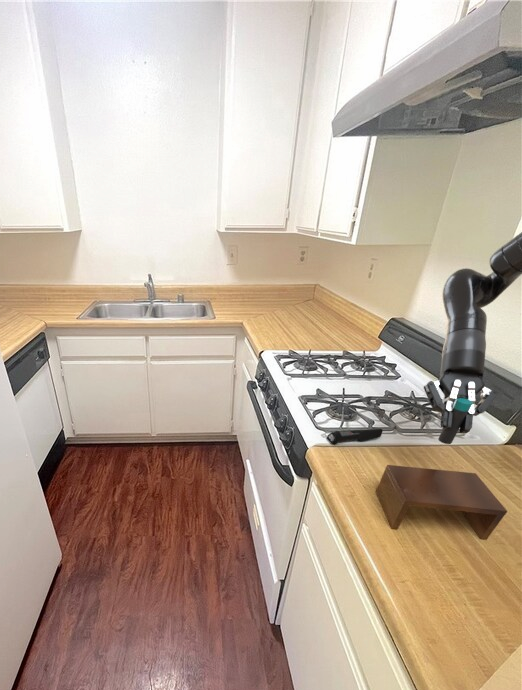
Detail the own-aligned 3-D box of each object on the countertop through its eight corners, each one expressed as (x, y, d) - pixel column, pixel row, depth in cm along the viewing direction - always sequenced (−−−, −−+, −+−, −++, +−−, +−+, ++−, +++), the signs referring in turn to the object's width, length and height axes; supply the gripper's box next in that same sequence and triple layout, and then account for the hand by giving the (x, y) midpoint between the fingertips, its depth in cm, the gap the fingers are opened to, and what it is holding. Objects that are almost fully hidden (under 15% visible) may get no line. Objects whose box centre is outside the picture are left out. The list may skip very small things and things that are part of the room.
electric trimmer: (383, 441, 96) (386, 432, 95) (332, 445, 94) (335, 436, 92) (374, 434, 100) (378, 425, 98) (325, 438, 97) (328, 428, 95)
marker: (448, 438, 77) (468, 398, 72) (454, 444, 75) (475, 404, 70) (435, 437, 78) (454, 397, 72) (441, 443, 75) (461, 403, 70)
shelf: (459, 500, 77) (475, 473, 73) (486, 539, 68) (507, 511, 64) (375, 491, 79) (386, 464, 75) (391, 529, 70) (405, 500, 66)
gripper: (435, 343, 74) (426, 420, 71) (511, 352, 70) (505, 433, 67) (420, 358, 81) (411, 429, 78) (489, 366, 78) (483, 440, 74)
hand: (455, 430), depth 73 cm, fingers closed on marker, 2 cm apart
